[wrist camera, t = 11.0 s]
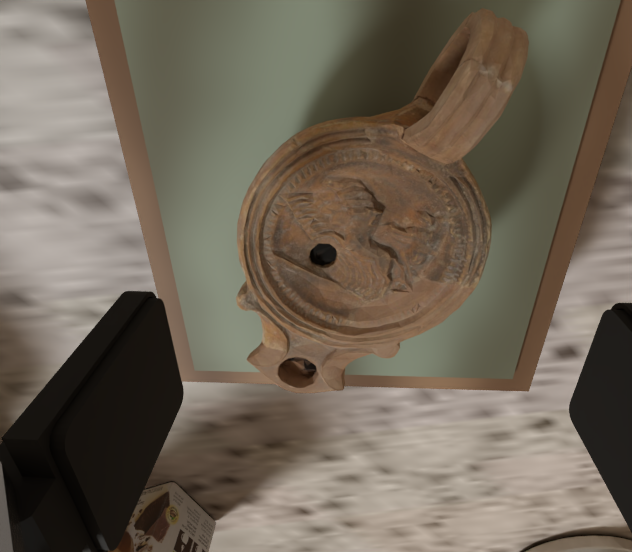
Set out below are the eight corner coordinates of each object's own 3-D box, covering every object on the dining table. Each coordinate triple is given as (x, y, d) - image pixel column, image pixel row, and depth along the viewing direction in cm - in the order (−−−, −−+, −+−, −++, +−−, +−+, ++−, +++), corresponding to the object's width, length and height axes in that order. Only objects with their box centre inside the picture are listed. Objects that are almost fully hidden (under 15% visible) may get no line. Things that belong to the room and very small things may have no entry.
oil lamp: (360, 370, 20) (363, 472, 15) (199, 302, 18) (154, 394, 14) (580, 84, 13) (691, 124, 9) (359, -55, 12) (366, -87, 8)
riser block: (590, -104, 16) (709, -156, 10) (493, 315, 25) (531, 396, 20) (140, -87, 16) (48, -127, 11) (210, 310, 26) (177, 385, 21)
